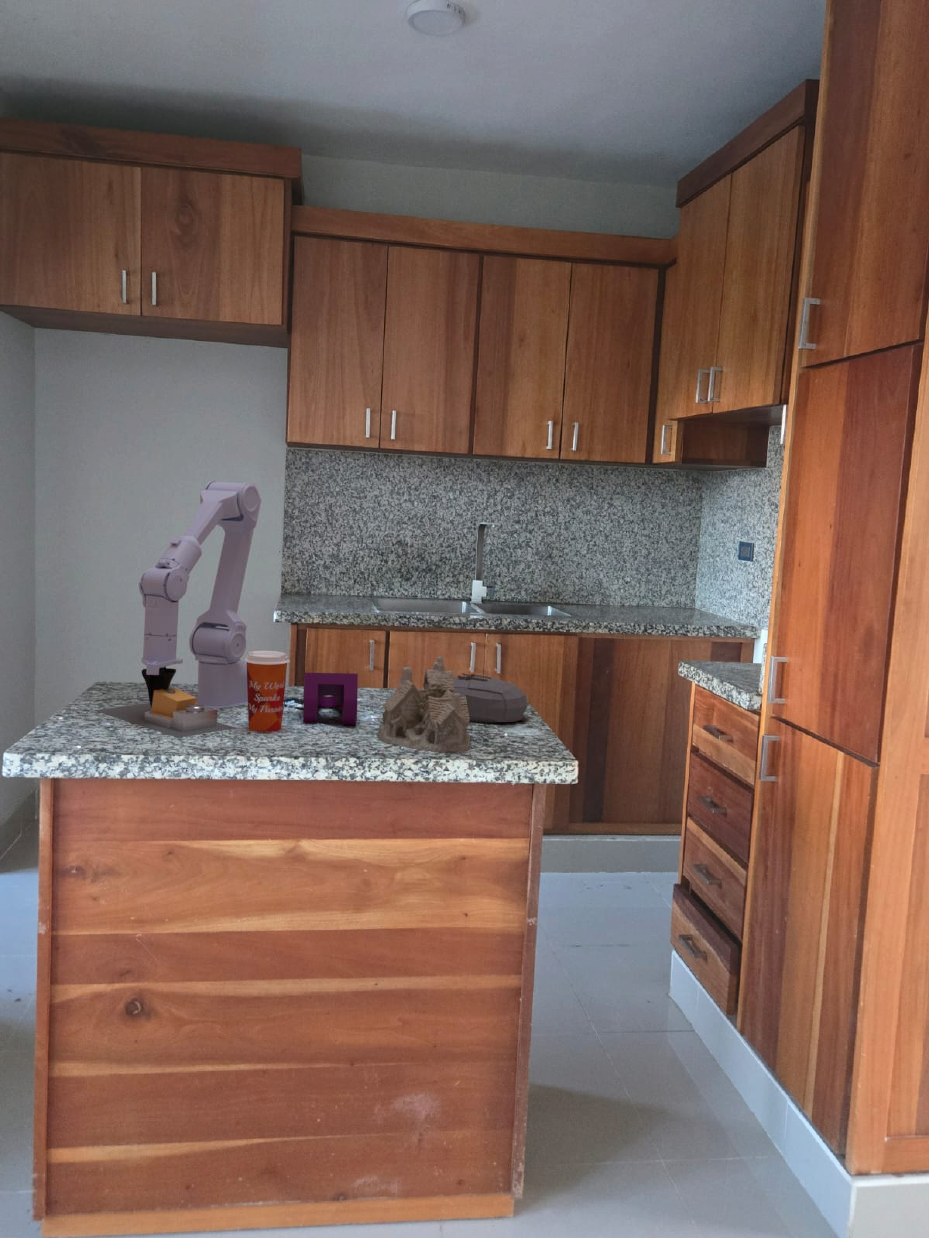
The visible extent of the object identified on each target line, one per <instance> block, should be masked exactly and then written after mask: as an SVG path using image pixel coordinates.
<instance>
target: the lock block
mask: <svg viewBox="0 0 929 1238" xmlns="http://www.w3.org/2000/svg"><path fill="white" fill-rule="evenodd" d="M196 700H197V697H196V696H193V695H191V694H189V693H187V692H185V691H183V690H181V689H178V688H176V687H174V686H173V687H169V688H168V689H167V690H164V689H160V690H154V695H153V702H152V708H151V711H152V712H155V713H158V714H161V715H165V716H168V717H171V718H173V712H174V711H181V710H186V706H187V705H191V704H196Z"/></svg>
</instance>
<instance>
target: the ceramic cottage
mask: <svg viewBox="0 0 929 1238" xmlns="http://www.w3.org/2000/svg"><path fill="white" fill-rule="evenodd" d="M444 661H445V660H444V657H443V656H437V658H436V661H435V662H433V665H432V666H431V667H432V669H425V672H424V676H423V684H422V687H423V689H422V688H421V689H420V688H419V689H418V688H417V687H416V685H415V684H414V683H413V669H412V667H408V666H406V667H405V666H404V667H402V668H401V669H402V670H401V676H400V681H399V685H398V686H397V688H395V691H394V692H393V694H391V695H390V697H389V698H388V700H386V701H385V703H382V704H381V706H382V707H383V708H384V711H383V713H382V717H381V720H382V722H381V723H380V724H379V727H378V730H377V733H376V738H377V739H378V740H379V739H380V740H379V741H381V742H383V743H386V744H391V745H395V746H400V747H404V746H405V748H410V749H415V750H418V749H420V750H419V751H423V750H425V751H424V752H428V751H431V752H430V753H441V752H442V753H448V752H451V753H463V752H467V751H468V750H469V749H470V745H471V741H470V733H469V732H468V731H467V728H468V727H469V722H470V718H469V712H468V707H467V700H466V696H464V697H460V694H459V693H455V694H453V692H454V681H453V677H454V676H453V671H452V670H446V668H445V667H446V666H445V662H444Z"/></svg>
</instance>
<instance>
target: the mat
mask: <svg viewBox="0 0 929 1238" xmlns="http://www.w3.org/2000/svg"><path fill="white" fill-rule="evenodd" d="M94 711H95V712H98V713H101V714H105V715H107V716H110V717H112V718H113V717H114V718H116V719H120V720H123V721H125V722H129V723H131V724H134V725H138V726H139V727H140V726H141V727H143V728H147V729H149V730H153V731H156V732H159V733H162V734H164V735H168V736H172V737H174V738H184V737H191V736H192V737H193V736H196V735H202V734H209V733H215V732H221V731H222V732H223V731H228V730H233V729H234V730H235V729H236V727H235V726H232V725H229V724H225V723H222V722H219V721H217V726H216V727H209V728H203V729H197V730H191V731H184V732H182V731H179V730H176V729H169V728H165V727H162V726H159V725H156V724H153V723H150V722H147V721H145V712H149V711H151V706H150V702H147V703H146V702H145V703H139V704H131V705H130V704H129V705H124V706H115V707H108V708H100V709H94Z"/></svg>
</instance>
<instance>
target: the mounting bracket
mask: <svg viewBox="0 0 929 1238" xmlns="http://www.w3.org/2000/svg"><path fill="white" fill-rule="evenodd" d="M358 677H359V673H349V672H347V673H343V672H342V673H341V672H339V673H338V672H337V673H336V672H304V679H303V700H302V702H303V711H302V716H303V717H302V721H303V723H308V724H309V723H311V724H312V723H315V724H316V723H318V709H341V724H342V725H343V726H356V725H357V719H358V717H357V715H358V688H359V687H358V685H359V684H358V683H359V682H358V680H359V679H358Z"/></svg>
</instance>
